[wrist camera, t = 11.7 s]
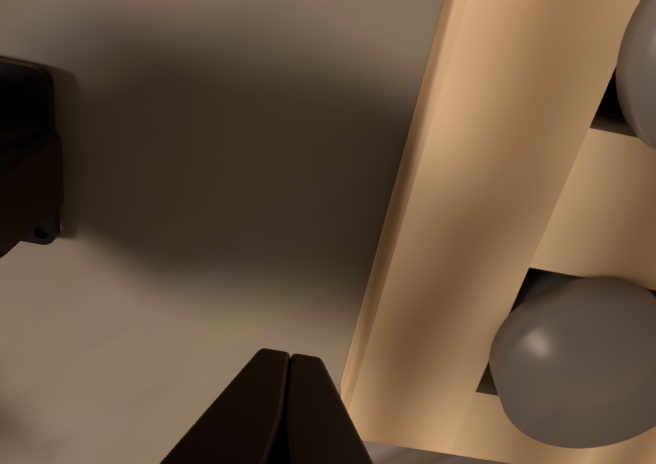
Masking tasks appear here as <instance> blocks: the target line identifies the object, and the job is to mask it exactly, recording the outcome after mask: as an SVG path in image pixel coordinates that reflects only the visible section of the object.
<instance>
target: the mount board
mask: <svg viewBox="0 0 656 464" xmlns="http://www.w3.org/2000/svg"><path fill="white" fill-rule="evenodd" d="M639 2H640V0H444V3H443V7H442V10H441V14H440V18H439V21H438V25H437V29H436V32H435V36H434V40H433V44H432V47H431V51H430V55H429V58H428V62H427V66H426V69H425V73H424V77H423V81H422V84H421V88H420V92H419V95H418V99H417V103H416V106H415V110H414V114H413V118H412V121H411V125H410V129H409V132H408V136H407V140H406V143H405V147H404V151H403V155H402V158H401V162H400V166H399V169H398V173H397V177H396V180H395V184H394V188H393V191H392V195H391V199H390V203H389V206H388V210H387V214H386V217H385V221H384V225H383V228H382V232H381V236H380V240H379V243H378V247H377V251H376V254H375V258H374V262H373V265H372V269H371V273H370V277H369V280H368V284H367V288H366V291H365V295H364V299H363V302H362V306H361V310H360V314H359V317H358V321H357V325H356V328H355V332H354V336H353V339H352V343H351V347H350V351H349V354H348V358H347V362H346V365H345V369H344V373H343V376H342V380H341V399H342V401H343V403H344V405H345V407H346V409H347V412H348V414H349V416H350V418H351V420H352V422H353V424H354V426H355V428H356V430H357V432H358V434H359V436H360V438H361V440H365V441H371V442H377V443H384V444H390V445H396V446H403V447H409V448H415V449H422V450H428V451H435V452H441V453H447V454H454V455H460V456H466V457H473V458H479V459H485V460H492V461H498V462H504V463H511V464H656V426H655V427H653V428H652V429H650V430H648V431H646V432H644V433H642V434H640V435H638V436H636V437H634V438H631V439H629V440H626V441H623V442H620V443H616V444H612V445H608V446H602V447H596V448H584V449H575V448H563V447H556V446H552V445H548V444H545V443H542V442H539V441H537V440H534V439H532V438H530V437H529V436H527V435H525V434H524V433H522V432H521V431H520V430H519V429H517V428H516V427H515V426H514V425H513V424H512V422H511V421H510V420H509V419H508V417H507V415H506V414H505V412H504V409H503V407H502V404H501V401H500V398H499V395H498V393H497V390H496V387H495V384H494V381H493V378H492V375H491V372H490V366H489V355H490V349H491V345H492V342H493V339H494V337H495V335H496V333H497V331H498V329H499V327H500V326H501V325H502V323H503V322H504V320H505V319H506V318H507V317H508V315H509V313H510V310H511V308H512V306H513V303H514V301H515V299H516V297H517V294H518V292H519V290H520V287H521V285H522V283H523V280H524V278H525V276H526V273H527V271H528V269H529V267H530V268H536V269H541V270H547V271H552V272H558V273H563V274H569V275H574V276H580V277H585V278H613V279H620V280H624V281H628V282H631V283H634V284H636V285H639V286H641V287H643V288H644V289H646V290H648V291H650V292H651V293H652V294H653V295H655V296H656V150H654V149H652V148H651V147H649V146H648V145H646V144H645V143H644V142H643V141H642V140H641V139H640V138H639V137H637V135H636V134H635V133H634V132H633V130H632V129H631V128H630V126H629V125H628V123H627V121H626V119H625V117H624V116H622V115H617V114H612V113H608V112H603V111H598V110H597V109H598V107H599V104H600V102H601V100H602V97H603V95H604V93H605V90H606V88H607V86H608V83H609V81H610V79H611V76H612V74H613V72H614V69H615V67H616V65H617V58H618V53H619V49H620V45H621V41H622V38H623V35H624V33H625V30H626V27H627V25H628V23H629V20H630V18H631V16H632V14H633V12H634V10H635V8H636V7H637V5H638V4H639Z"/></svg>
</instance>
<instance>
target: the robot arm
mask: <svg viewBox="0 0 656 464" xmlns="http://www.w3.org/2000/svg"><path fill="white" fill-rule="evenodd" d="M30 75H32V76H34V77H36V79H37V80H38V82H39V88H36V87H34V86H33V85H32V84H31V82H30V79H29V78H30ZM63 202H64V193H63V169H62V146H61V138H60V136H59V135H58V133H57V132H56V131H55V113H54V92H53V81H52V77H51V75H50V74H49V72H48V71H47V70H46V69H44V68H43V67H41V66H38V65H35V64H30V63H25V62H20V61H15V60H10V59H5V58H0V258H2V257H3V256H4V255H5V254H7V253H8V252H9V251H10V250H11V249H12V248H13V247H14V246H16V245H17V244H18V243H19V242H20V241H24V242H30V243H35V244H41V245H47V244H50V243H52V242H53V241H54V240H55V239H56V238H57V237H58V235H59V233H60V218H59V206H60V205H61V204H62V203H63ZM40 227H43V228H45V229H46V230H47V232H48V234H46V233H43V232H42V231H41V230H40ZM160 464H373V462H372V460H371V458H370V456H369V454H368V452H367V450H366V448H365V446H364V444H363V442H362V440H361V438H360V436H359V434H358V432H357V430H356V428H355V426H354V424H353V422H352V420H351V418H350V416H349V414H348V412H347V409H346V407H345V405H344V403H343V401H342V399H341V397H340V395H339V393H338V391H337V389H336V387H335V385H334V383H333V381H332V379H331V377H330V375H329V373H328V371H327V369H326V367H325V365H324V363H323V361H322V360H321V359H320V358H318V357H315V356H309V355H303V354H293V355H292V356H291V358H290V355H289V353H287V352H285V351H279V350H273V349H267V348H263V349H260V350H259V351H258V352H257V353H256V354H255V355H254V356H253V358H252V359H251V360H250V361H249V362H248V363H247V364H246V366H245V367H244V368H243V369H242V370H241V371H240V372H239V374H238V375H237V376H236V377H235V378H234V379H233V380H232V381H231V383H230V384H229V385H228V386H227V387H226V388H225V389H224V391H223V392H222V393H221V394H220V395H219V396H218V397H217V399H216V400H215V401H214V402H213V403H212V404H211V405H210V407H209V408H208V409H207V410H206V411H205V412H204V413H203V415H202V416H201V417H200V418H199V419H198V420H197V421H196V423H195V424H194V425H193V426H192V427H191V428H190V429H189V431H188V432H187V433H186V434H185V435H184V436H183V437H182V439H181V440H180V441H179V442H178V443H177V444H176V445H175V447H174V448H173V449H172V450H171V451H170V452H169V453H168V455H167V456H166V457H165V458H164V459H163V460H162V461H161V463H160Z"/></svg>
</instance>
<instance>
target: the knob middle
mask: <svg viewBox="0 0 656 464" xmlns="http://www.w3.org/2000/svg"><path fill="white" fill-rule="evenodd" d="M608 84H609V85H610V87H611V88H612V89H613V90H614V91H615V92H616V93H617V95H618V101H619V104H620V107H621V110H622V113H623V116H624V117H625V119H626V121H627V123H628V125H629V126H630V128H631V129H632V130H633V132H634V133H635V134H636V135H637V137H639V138H640V139H641V140H642V141H643V142H644V143H645V144H646V145H648V146H649V147H651V148H652V149H654V150H656V0H640V2H639V4H638V5H637V7H636V8H635V10H634V12H633V14H632V16H631V18H630V20H629V23H628V25H627V27H626V30H625V33H624V35H623V38H622V41H621V45H620V49H619V53H618V58H617V65H616V67H615V69H614V72H613V74H612V76H611V79H610V81H609V83H608Z"/></svg>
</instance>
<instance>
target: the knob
mask: <svg viewBox="0 0 656 464" xmlns="http://www.w3.org/2000/svg"><path fill="white" fill-rule="evenodd" d="M489 366H490V372H491V375H492V378H493V381H494V384H495V387H496V390H497V393H498V395H499V398H500V401H501V404H502V407H503V409H504V412H505V414H506V415H507V417H508V419H509V420H510V421H511V422H512V424H513V425H514V426H515V427H516V428H517V429H519V430H520V431H521V432H522V433H524V434H525V435H527V436H529V437H530V438H532V439H534V440H537V441H539V442H542V443H545V444H548V445H552V446H556V447H563V448H575V449H584V448H596V447H602V446H608V445H612V444H616V443H620V442H623V441H626V440H629V439H631V438H634V437H636V436H638V435H640V434H642V433H644V432H646V431H648V430H650V429H652V428H653V427H655V426H656V296H655V295H653V294H652V293H651V292H650V291H648V290H646V289H644V288H643V287H641V286H639V285H636V284H634V283H631V282H628V281H624V280H620V279H613V278H585V277H580V276H574V275H569V274H563V273H558V272H552V271H547V270H541V269H536V268H530V267H529V269H528V271H527V273H526V276H525V278H524V280H523V283H522V285H521V287H520V290H519V292H518V294H517V297H516V299H515V301H514V303H513V306H512V308H511V310H510V313H509V315H508V317H507V318H506V319H505V320H504V322H503V323H502V325H501V326H500V327H499V329H498V331H497V333H496V335H495V337H494V339H493V342H492V345H491V349H490V355H489Z"/></svg>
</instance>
